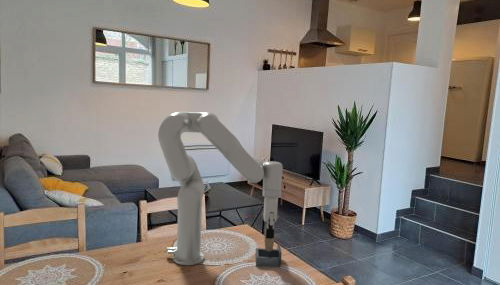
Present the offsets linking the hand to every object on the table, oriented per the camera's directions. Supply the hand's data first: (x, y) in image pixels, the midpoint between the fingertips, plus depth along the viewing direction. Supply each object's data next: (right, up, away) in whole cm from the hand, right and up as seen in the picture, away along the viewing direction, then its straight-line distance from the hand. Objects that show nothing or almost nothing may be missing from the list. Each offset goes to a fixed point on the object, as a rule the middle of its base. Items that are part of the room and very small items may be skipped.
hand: (269, 235), depth 145 cm
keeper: (-1, -11, +1) cm, 11 cm away
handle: (0, -6, +1) cm, 6 cm away
